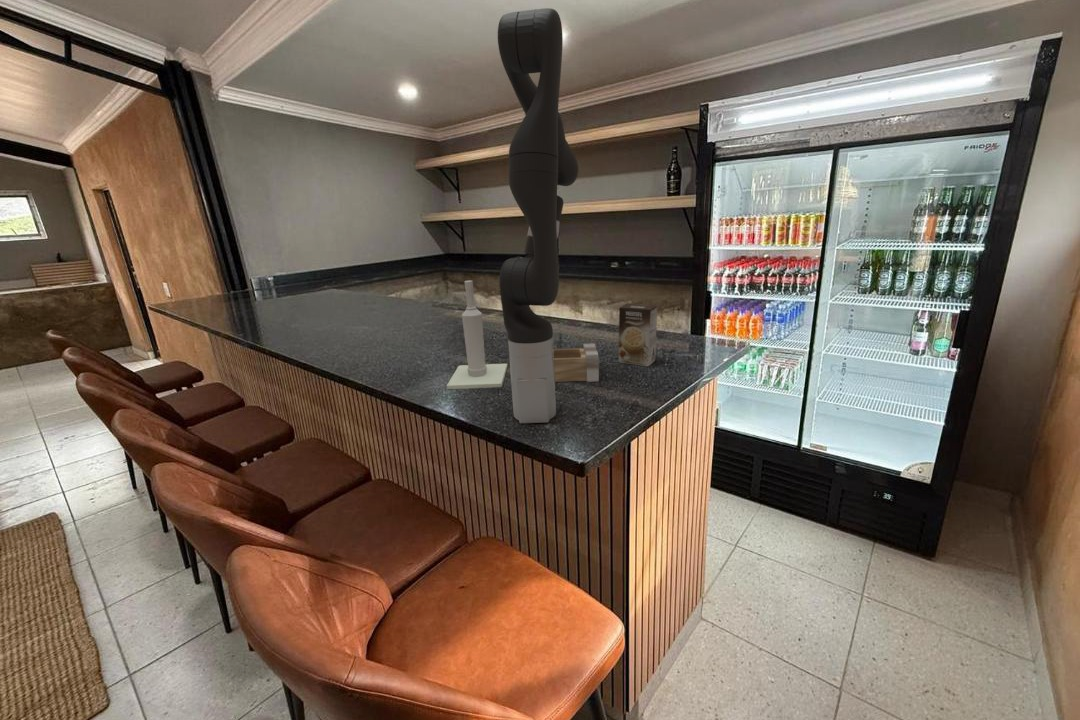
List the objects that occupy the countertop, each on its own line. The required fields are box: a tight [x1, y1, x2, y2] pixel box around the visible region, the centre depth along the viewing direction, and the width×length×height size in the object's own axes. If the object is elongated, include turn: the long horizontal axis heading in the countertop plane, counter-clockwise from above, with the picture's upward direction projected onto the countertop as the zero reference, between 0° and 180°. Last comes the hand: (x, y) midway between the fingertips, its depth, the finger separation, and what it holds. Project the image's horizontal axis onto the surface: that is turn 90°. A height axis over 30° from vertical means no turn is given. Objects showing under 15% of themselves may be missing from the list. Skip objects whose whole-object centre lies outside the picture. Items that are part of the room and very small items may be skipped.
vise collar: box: [553, 342, 600, 383], centre depth 119 cm, size 12×15×7 cm
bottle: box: [461, 280, 487, 377], centre depth 118 cm, size 5×5×25 cm
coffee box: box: [618, 302, 658, 367], centre depth 125 cm, size 9×6×16 cm
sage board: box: [446, 363, 508, 390], centre depth 121 cm, size 16×14×1 cm
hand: (529, 300), depth 116 cm, fingers open, 8 cm apart
